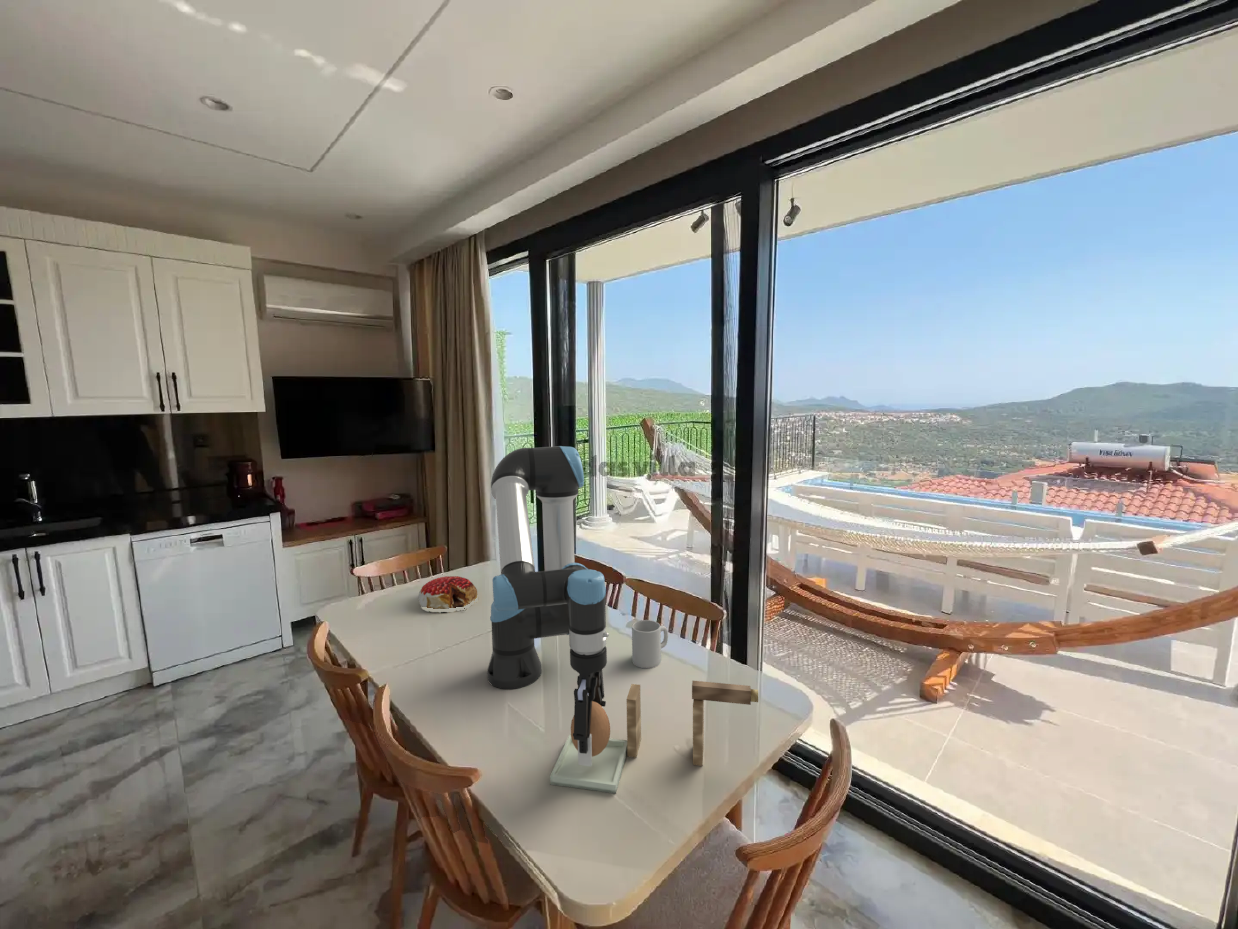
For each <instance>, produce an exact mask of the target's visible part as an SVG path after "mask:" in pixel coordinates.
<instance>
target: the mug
mask: <svg viewBox="0 0 1238 929" xmlns="http://www.w3.org/2000/svg"><path fill="white" fill-rule="evenodd" d="M661 632H663V639H662V640H661V637H662V634H661ZM668 639H669V633H668V629H667V627H666V626H664V625H661V624H660V623H659V622H657V621H654V620H651V619H650V620H649V619H644V620H637V621H635V622H634V623H633V624H632V625H631V645H632V646H631V655H632V656H631V661H632V664H633V665H634V666H636V667H637V668H640V669H641V668H642V669H652V668H656V667H658V666H659V665H660V664H661V663H662V649H663V648H665V647H666V646H667V644H668Z"/></svg>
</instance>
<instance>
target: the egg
mask: <svg viewBox="0 0 1238 929" xmlns="http://www.w3.org/2000/svg"><path fill="white" fill-rule="evenodd" d="M573 733H574V715H573V717H572V720H571V723H570V734H571V739H572V742H573V745H574V746H575V748H576V749H577V751H578V740H574V736H573ZM590 734H591V736H592V757H593V756H596V755H598V754H600V753H601V752H602V751H603V750H604V749H605V747H606V746H607V744H608V741H609V738H610V737H611V722H610V720H609V717H608V715H607V712H606V710H605V708H604V707H603V706H601V705H600V704H598V703H596V702H594V701H592V710H591V724H590Z"/></svg>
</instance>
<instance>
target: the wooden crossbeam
mask: <svg viewBox="0 0 1238 929" xmlns="http://www.w3.org/2000/svg"><path fill="white" fill-rule="evenodd" d="M691 682H692V683H691V699H692V700H694V699H697V700H704V701H708V702H709V701H710V702H719V703H729V704H738V705H748V706H749V705H751V703H759V689H755V688H753V689H752V688H751V685H745V684H743V685H742V684H734V683H724V682H723V683H721V682H712V681H702V680H701V681H700V680H692V681H691Z"/></svg>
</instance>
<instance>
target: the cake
mask: <svg viewBox="0 0 1238 929" xmlns="http://www.w3.org/2000/svg"><path fill="white" fill-rule="evenodd" d="M477 595H478V589H477V587H476V586H475V584H474V583H473V582H472V581H470V580H469V579H468V578H465V577H462V576H456V575H453V576H451V575H450V576H448V575H447V576H445V575H444V576H440V577H437V578H433V579H432V580H430V581H428V582H427V583H425V584H423V586H422V587H421V589H420V591H419V592H418V596H417V597H418V602H420V603H419V606H420V605H421V606H422V607H427V608H433V609H449V608H456V607H464V606H466V605H468V604H470V603H471V602H472V601H475V599H476V598H477ZM478 596H479V595H478ZM464 609H465V608H464Z"/></svg>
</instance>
